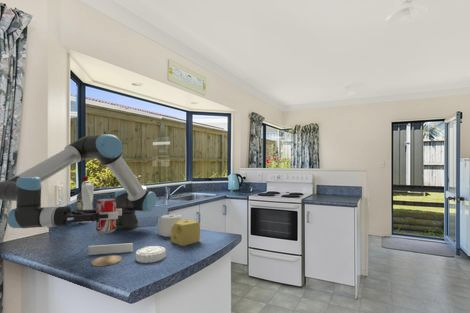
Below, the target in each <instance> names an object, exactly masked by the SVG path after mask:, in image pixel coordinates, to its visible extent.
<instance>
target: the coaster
mask: <svg viewBox="0 0 470 313" xmlns="http://www.w3.org/2000/svg"><path fill="white" fill-rule="evenodd" d="M121 261H122V256H120V255H114V254H113V255H105V256H99V257H97V258H95V259H93V260H92V261H91V266H93V267H100V268H101V267H108V266H112V265H116V264H119V263H120V262H121Z"/></svg>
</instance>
